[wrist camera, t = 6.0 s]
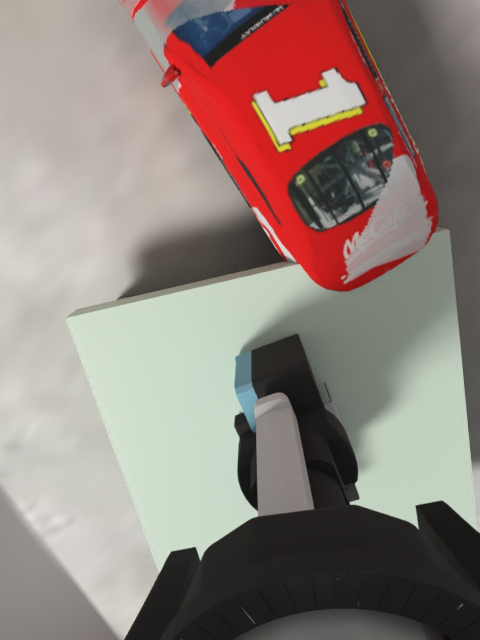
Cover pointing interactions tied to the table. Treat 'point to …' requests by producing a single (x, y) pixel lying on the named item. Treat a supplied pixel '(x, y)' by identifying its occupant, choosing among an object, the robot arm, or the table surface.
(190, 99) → the race car
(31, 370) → the table surface
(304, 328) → the stand
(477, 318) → the table surface
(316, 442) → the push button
